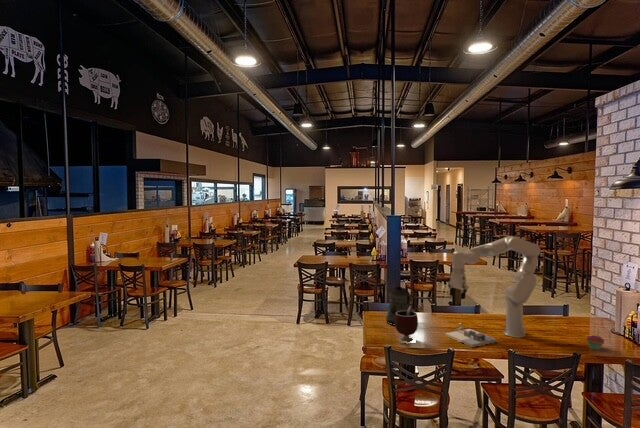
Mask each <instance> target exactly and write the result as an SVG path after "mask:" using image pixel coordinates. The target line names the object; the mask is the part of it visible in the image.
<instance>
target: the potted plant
mask: <svg viewBox="0 0 640 428" xmlns="http://www.w3.org/2000/svg"><path fill="white" fill-rule="evenodd" d="M388 295H389V298H390V299H389V303H388V310H387V313H386V316H385V320H386V323H387V322H389V323H392V324H395V315H396V312H398V311H407V310H408V308H409V307H410V306H411V305H410V304H411V301H412V298H411V297H412V296H411V294H410V293H409V292H408V289H406V288H403V287H401V286H397V287H394V289H393V290H391V291H390V292H389V293H388Z"/></svg>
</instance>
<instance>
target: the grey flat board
mask: <svg viewBox="0 0 640 428" xmlns="http://www.w3.org/2000/svg"><path fill="white" fill-rule="evenodd" d="M465 330H466V331H468V332H470V333H468V332H464V334H463V333H461V332H458V331H451V332H445V335H446V336H448V337H450V338H452V339H451V340H453V339H455V340H457V341H459V342H462V343H464V344H466V345H469V346H471V347H474V346H479V347H481V346H480V345H483V346H486V345H485V344H488V345H490V344H489V343H492V344H495V343H494V342H497V343H498V339H497V338H495V337H492V336H490V335H487V334H484V333H482V332H479V331H477V330H473V329H471V328H467V329H465ZM446 336H445V337H446ZM448 337H447V338H448ZM450 338H449V339H450ZM455 340H454V341H455ZM457 341H456V342H457ZM459 342H458V343H459ZM462 343H461V344H462ZM464 344H463V345H464ZM466 345H465V346H466ZM469 346H468V347H469ZM471 347H470V348H471ZM474 348H475V347H474Z"/></svg>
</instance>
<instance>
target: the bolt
mask: <svg viewBox="0 0 640 428" xmlns="http://www.w3.org/2000/svg"><path fill="white" fill-rule="evenodd" d="M455 329H456V331H458V332H461V333H463V334H464V332H468V331H466V329H464V323H463V322H458V327H457V328H455ZM468 333H470V332H468Z"/></svg>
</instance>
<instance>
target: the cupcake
mask: <svg viewBox="0 0 640 428" xmlns="http://www.w3.org/2000/svg"><path fill="white" fill-rule="evenodd" d="M599 331H600V328H597V332H596V335H595V334H594V335H589V336H587V337H586V342H587V343H588V345H589V347H590V349H593V350H599V351H600V350H601V349H602V347H603V345H604V344H605V340H604V339H603V337H601V336H599V333H600V332H599Z"/></svg>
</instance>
